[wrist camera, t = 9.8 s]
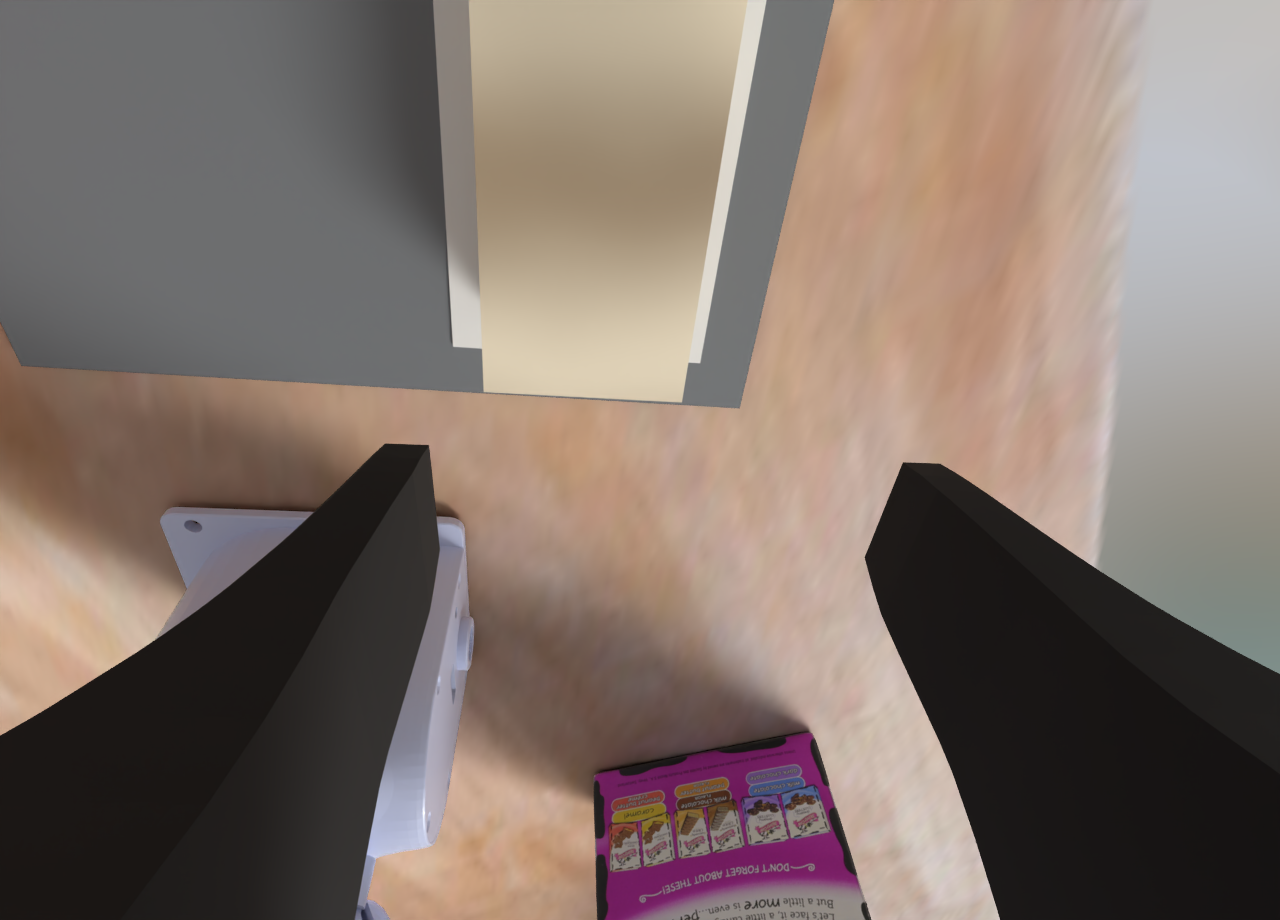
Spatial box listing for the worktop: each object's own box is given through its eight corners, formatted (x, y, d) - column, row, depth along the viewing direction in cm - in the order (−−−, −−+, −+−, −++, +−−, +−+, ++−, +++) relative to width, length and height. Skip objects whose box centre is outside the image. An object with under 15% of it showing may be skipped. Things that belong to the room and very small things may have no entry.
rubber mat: (880, -228, 13) (889, -234, 12) (737, 401, 21) (740, 410, 21) (-349, -452, 10) (-387, -469, 10) (31, 358, 18) (18, 367, 18)
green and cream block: (665, 327, 19) (683, 402, 16) (499, 317, 18) (482, 392, 15) (722, -88, 13) (766, -105, 10) (490, -121, 13) (460, -150, 10)
